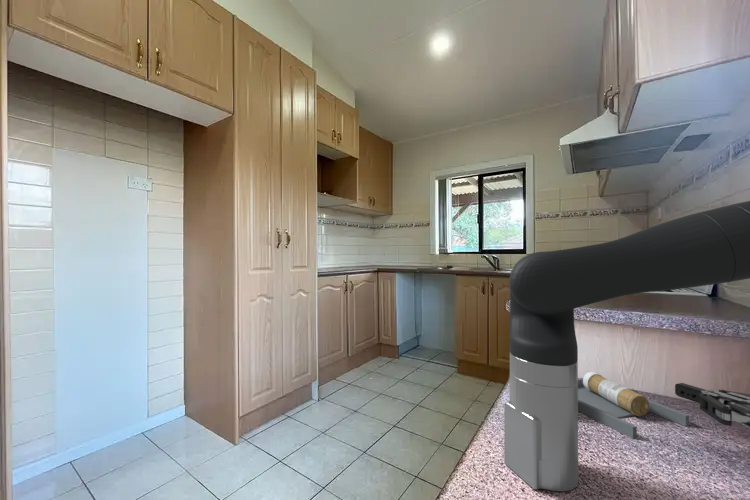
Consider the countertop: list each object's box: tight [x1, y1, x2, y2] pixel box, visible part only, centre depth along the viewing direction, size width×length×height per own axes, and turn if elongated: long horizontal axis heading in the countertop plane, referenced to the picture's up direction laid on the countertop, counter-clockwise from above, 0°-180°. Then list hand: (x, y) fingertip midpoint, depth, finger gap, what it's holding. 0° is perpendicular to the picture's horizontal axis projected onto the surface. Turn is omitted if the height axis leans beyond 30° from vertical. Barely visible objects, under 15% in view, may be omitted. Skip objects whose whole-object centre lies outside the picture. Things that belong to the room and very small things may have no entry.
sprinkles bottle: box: [582, 371, 649, 417], centre depth 71 cm, size 5×5×13 cm
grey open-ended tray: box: [578, 377, 690, 439], centre depth 69 cm, size 16×21×2 cm
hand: (677, 388), depth 57 cm, fingers closed
